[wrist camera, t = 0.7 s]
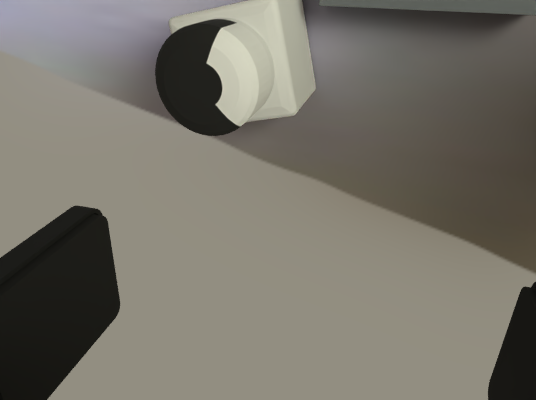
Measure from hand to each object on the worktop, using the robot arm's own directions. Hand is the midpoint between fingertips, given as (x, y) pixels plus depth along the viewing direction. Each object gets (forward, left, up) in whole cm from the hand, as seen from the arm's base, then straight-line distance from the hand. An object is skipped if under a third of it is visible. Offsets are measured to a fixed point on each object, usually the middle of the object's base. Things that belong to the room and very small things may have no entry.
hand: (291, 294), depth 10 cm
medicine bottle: (+8, -1, -27) cm, 28 cm away
